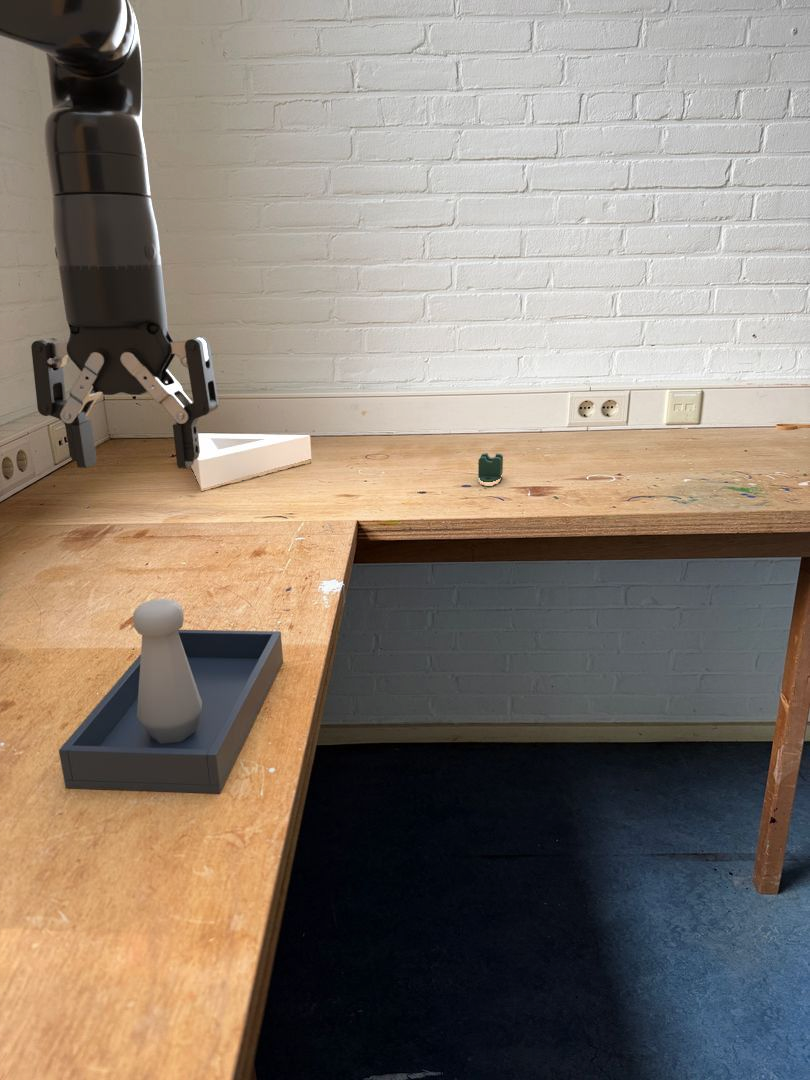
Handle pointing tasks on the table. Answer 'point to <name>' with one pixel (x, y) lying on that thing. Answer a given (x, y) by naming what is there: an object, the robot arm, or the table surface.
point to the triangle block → (245, 455)
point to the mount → (490, 467)
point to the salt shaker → (165, 674)
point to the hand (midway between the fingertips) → (136, 466)
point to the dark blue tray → (205, 756)
